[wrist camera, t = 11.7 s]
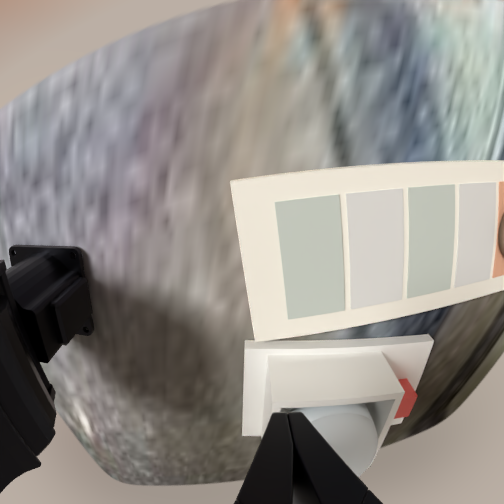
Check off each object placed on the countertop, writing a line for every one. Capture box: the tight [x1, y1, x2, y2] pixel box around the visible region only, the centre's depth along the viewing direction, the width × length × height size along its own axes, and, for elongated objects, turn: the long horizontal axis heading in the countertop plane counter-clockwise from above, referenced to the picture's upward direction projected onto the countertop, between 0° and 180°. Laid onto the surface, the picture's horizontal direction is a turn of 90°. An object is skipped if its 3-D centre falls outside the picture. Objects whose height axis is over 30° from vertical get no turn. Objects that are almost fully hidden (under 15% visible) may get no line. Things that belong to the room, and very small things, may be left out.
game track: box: [230, 160, 504, 342], centre depth 19 cm, size 23×10×1 cm, turn 98°
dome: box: [287, 403, 378, 477], centre depth 17 cm, size 6×6×6 cm
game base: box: [242, 334, 434, 467], centre depth 20 cm, size 14×9×6 cm, turn 88°
